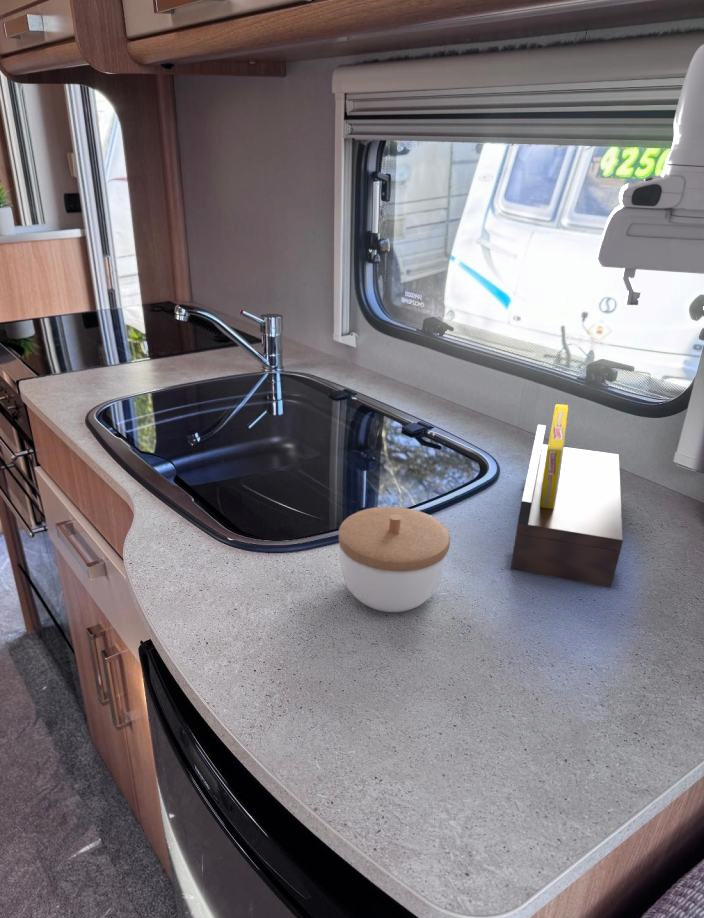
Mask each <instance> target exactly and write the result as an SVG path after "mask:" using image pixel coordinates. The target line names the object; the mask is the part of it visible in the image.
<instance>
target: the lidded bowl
mask: <svg viewBox="0 0 704 918" xmlns="http://www.w3.org/2000/svg"><path fill="white" fill-rule="evenodd" d="M450 536H451V535H450V532H449V530H448V528H447V527H446V526H445V525H444V524H443V523H442V522H441V520H439V519H437V518H435V517H434V516H433V515H430V514H428V513H425V512H424V511H423V512H422V511H420V510H417V509H412V508H407V507H403V506H402V507H401V506H378V507H370V508H365V509H363V510H359V511H357V512H355V513H352V514H351V515H349V516H347V517H346V518H345V519H344V520H343V521H342V522H341V524H340V525H339V528H338V545H339V563H340V570H341V574H342V578H343V581H344V583H345V585H346V587H347V589H348V591H350V593H351V594H352V595H353V596H354V597H355V599H357V600H358V601H359V602H360V603H361V604H363V605H365V606H366V607H368V608H370V609H373V610H376V611H379V612H384V613H402V612H407V611H410V610H411V611H412V610H413V609H415V608H417V607H420V606H421V605H422V604H424V603H425V602H427V601H428V600H429V599H430V598H431V597H432V596H433V595H434V593H435V592H436V590H437V589H438V587H439V585H440V584H441V581H442V578H443V576H444V572H445V570H446V566H447V565H446V564H447V558H448V552H449V549H450V546H451V545H450V543H451V537H450Z"/></svg>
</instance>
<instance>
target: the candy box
mask: <svg viewBox="0 0 704 918" xmlns="http://www.w3.org/2000/svg"><path fill="white" fill-rule="evenodd" d="M568 415H569V405H568V404H559V403H556V404H555V406H554V409H553V417H552V421H551V426H550V431H549V437H548V442H547V445H548V447H547V454H546V461H545V467H544V474H543V482H542V491H541V499H540V507H543V508H550V509H554V507H555V501H556V496H557V490H558V484H559V478H560V471H561V464H562V457H563V450H564V447H565V441H566V432H567V424H568Z"/></svg>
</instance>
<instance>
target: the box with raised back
mask: <svg viewBox="0 0 704 918" xmlns="http://www.w3.org/2000/svg"><path fill="white" fill-rule="evenodd" d="M546 429H547V425H544V424H537V425H536V430H535V435H534V440H533V445H532V449H531V455H530V459H529V464H528V469H527V473H526V476H525V477H526V478H525V482H524V487H523V491H522V497H521V500H520V507H519V514H518V520H517V525H516V531H515V538H514V542H513V543H514V544H513V550H512V557H511V562H510V567H509V568H510V570H515V571H520V572H525V573H532V574H536V575H541V576H547V577H552V578H558V579H563V580H569V581H575V582H580V583H585V584H590V585H595V586H601V587H607V588H612V587H613V583H614V578H615V576H616V575H615V574H616V571H617V567H618V562H619V559H620V555H621V550H622V548H623V547H622V546H623V543H624V532H623V511H622V488H621V487H622V486H621V467H620V454H619V453H612V452H605V451H604V452H603V451H598V450H589V449H583V448H582V449H581V448H573V447H567V446H564V450H563V457H562V464H561V471H560V478H559V484H558V490H557V496H556V501H555V507H554V509H550V508H543V507H540V499H541V491H542V482H543V474H544V467H545V461H546V454H547V447H548V444H544V440H545V434H546Z"/></svg>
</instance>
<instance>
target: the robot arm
mask: <svg viewBox="0 0 704 918" xmlns="http://www.w3.org/2000/svg"><path fill="white" fill-rule="evenodd" d="M672 124H673V125H672V126H673V139H672V144H671V146H670V149H669V151H668V153H667V155H666V157H665V160H664V164H663V168H662V172H661V173H660V174H659V175H656V176H649V177H645V178H644V179H640V180H636V181H633V182H629V183H626V184H624V185H623V186H622V187H621V189H620V191H619V194H618V201H619V203H620V204H619V205H617V206H616V207H615V208H614V209H613V210H612V211H611V213H610V215H609V216H608V219H607V221H606V223H605V226H604V230H603V232H602V235H601V239H600V243H599V246H598V250H597V255H596V261H597V262H598V264H599V265H600V266H601V267H602V268H611V269H622V280H623V282H624V285H625V288H626V290H627V293H626V298H625V305H626V306H638V305H639V299H640V296H641V293H642V292H641V289H637V288H634V286H633V283H632V281H631V279H634V278H635V275H636V271H637V270H641V271H657V272H668V273H669V272H672V273H685V274H687V273H688V274H699V275H700V274H701V275H704V43H703V44H701V45H700V46H699V47H698V48H697V50H696V51H695V53H694V54H693V55H692V58H691V61H690V63H689V66H688V67H687V71H686V74H685V77H684V80H683V83H682V87H681V90H680V94H679V98H678V101H677V106H676V110H675V114H674V119H673V123H672ZM702 308H703V310H704V307H702Z"/></svg>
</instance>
